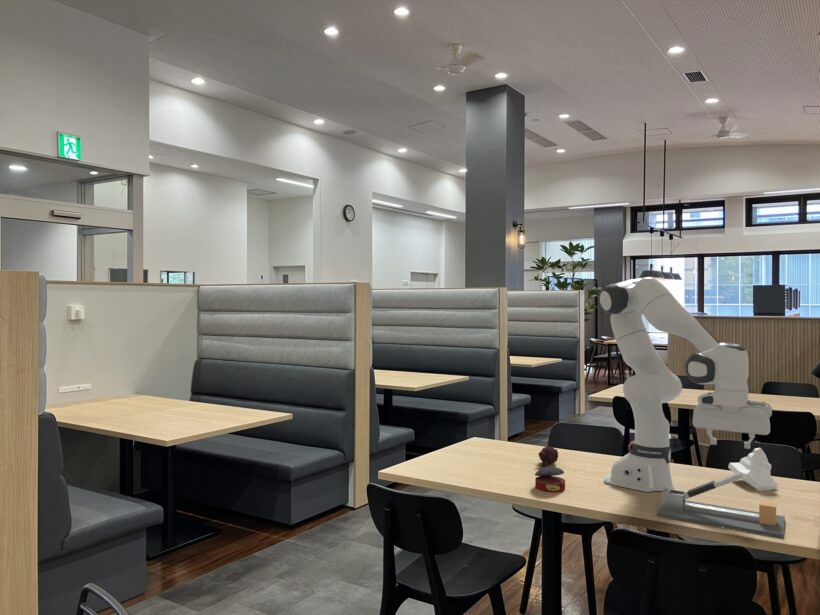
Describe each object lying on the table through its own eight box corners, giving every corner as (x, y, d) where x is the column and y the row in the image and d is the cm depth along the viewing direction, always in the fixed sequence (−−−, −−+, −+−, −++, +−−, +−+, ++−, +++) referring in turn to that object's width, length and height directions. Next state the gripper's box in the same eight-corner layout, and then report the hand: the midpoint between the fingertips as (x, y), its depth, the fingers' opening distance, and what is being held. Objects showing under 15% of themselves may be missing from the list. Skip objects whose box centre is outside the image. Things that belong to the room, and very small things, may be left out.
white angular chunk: (761, 484, 231) (774, 447, 229) (777, 500, 216) (791, 461, 214) (725, 473, 233) (738, 437, 231) (739, 488, 218) (753, 449, 216)
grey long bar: (661, 507, 194) (661, 492, 194) (664, 502, 198) (664, 487, 198) (775, 526, 178) (775, 510, 178) (776, 520, 183) (776, 505, 183)
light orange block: (759, 523, 180) (759, 504, 180) (760, 518, 185) (760, 500, 185) (775, 525, 178) (775, 507, 178) (776, 520, 183) (776, 502, 183)
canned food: (536, 503, 214) (523, 475, 216) (549, 493, 222) (536, 466, 224) (564, 494, 207) (550, 465, 209) (576, 484, 215) (562, 456, 217)
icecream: (546, 442, 258) (529, 452, 246) (562, 440, 254) (547, 450, 242) (550, 459, 258) (534, 470, 245) (567, 457, 253) (552, 468, 241)
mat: (657, 516, 188) (657, 512, 188) (667, 500, 204) (668, 497, 204) (783, 538, 172) (783, 534, 172) (784, 519, 187) (784, 516, 187)
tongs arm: (674, 504, 193) (671, 498, 193) (676, 501, 196) (673, 495, 196) (743, 478, 183) (739, 472, 184) (743, 476, 186) (740, 470, 187)
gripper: (772, 401, 184) (771, 449, 184) (695, 394, 195) (694, 440, 195) (771, 403, 179) (770, 453, 179) (692, 397, 189) (691, 444, 189)
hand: (730, 446), depth 187 cm, fingers open, 7 cm apart
